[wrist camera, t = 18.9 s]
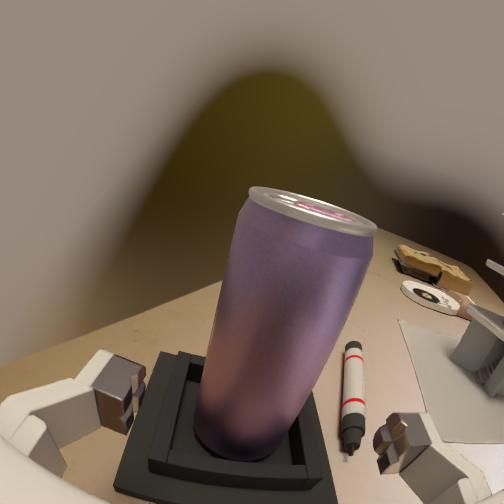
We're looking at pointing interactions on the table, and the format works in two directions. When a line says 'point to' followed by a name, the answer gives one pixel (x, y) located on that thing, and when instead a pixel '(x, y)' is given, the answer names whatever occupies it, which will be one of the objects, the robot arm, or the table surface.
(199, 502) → the dock pad
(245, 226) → the beverage can
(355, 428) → the marker
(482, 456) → the table surface
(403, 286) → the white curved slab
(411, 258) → the book
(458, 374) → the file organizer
